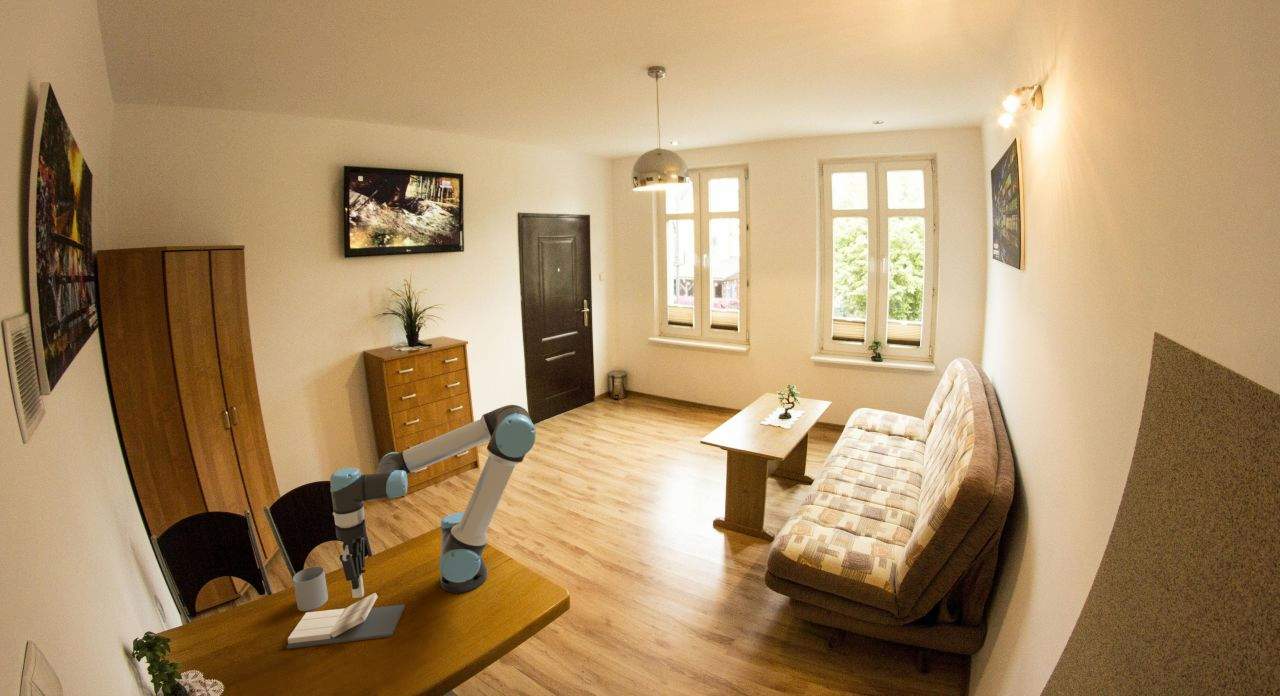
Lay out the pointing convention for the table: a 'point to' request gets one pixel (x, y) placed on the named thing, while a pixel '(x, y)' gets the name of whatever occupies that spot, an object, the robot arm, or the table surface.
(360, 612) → the loose plank
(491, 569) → the table surface
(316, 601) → the cup
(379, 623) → the floor section
